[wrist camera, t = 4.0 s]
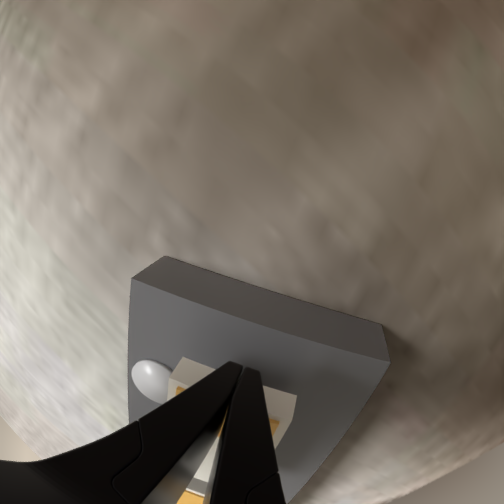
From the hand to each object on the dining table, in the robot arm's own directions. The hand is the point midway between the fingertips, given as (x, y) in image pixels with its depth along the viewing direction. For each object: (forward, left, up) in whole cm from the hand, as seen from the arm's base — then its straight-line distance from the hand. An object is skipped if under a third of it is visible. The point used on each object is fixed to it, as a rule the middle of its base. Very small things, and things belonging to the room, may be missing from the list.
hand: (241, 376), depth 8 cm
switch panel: (-9, 0, -4) cm, 10 cm away
